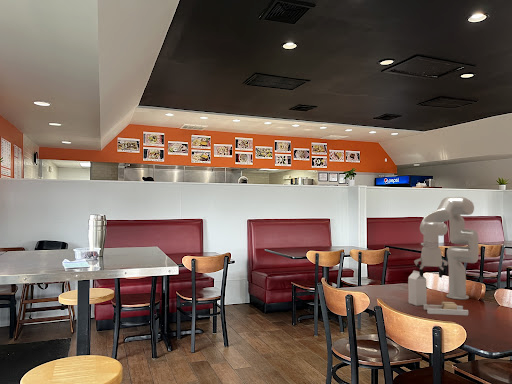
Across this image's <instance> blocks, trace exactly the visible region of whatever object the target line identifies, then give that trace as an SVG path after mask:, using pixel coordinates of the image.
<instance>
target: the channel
mask: <svg viewBox="0 0 512 384" xmlns="http://www.w3.org/2000/svg"><path fill="white" fill-rule="evenodd" d="M423 310H427V311H426V312H427V313H426V314H428V315H448V316H449V315H450V316H469V309H464V306H463V305H457V310H454V309H442V304H427V305H426V304H424V305H423Z"/></svg>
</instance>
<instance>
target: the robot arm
mask: <svg viewBox="0 0 512 384" xmlns="http://www.w3.org/2000/svg"><path fill="white" fill-rule="evenodd" d="M474 211H475V206H474V203H473V202H472V200H470V199H468V198H466V197H463V196H447V197H444V198H443V199H442V200H441V201H440V204H439V205H438V208H437V209H436V210H434V211H432V212H430V213H428V214H427V215H425V216H424V217H423V219H422V221H421V222H420V225H419V231H420V233H421V234H422V235H423V241H422V242H420V246H422V247H421V254H420V258H416V259H415V260H414V261H413V262H414V264H415V265H416V267H417V268H418V269H419V271H418V272H419V274H420V276H421V277H423V276H424V267H434V268H435V267H436V268H439V269H438V277H439V278H441V279H442V278H443V276H444V270H445V269H446V268H447V266H448V293H447V294H446V298H449V299H452V300H468V299H469V298H470V296H469V295H467V274H466V267H465V266H464V264H463V263H469V264H475V263H477V262H478V260H479V234H478V231H476V230H475V229H471V228H470V229H469V228H466V227H465V223H466V222H465V219H464V217H463V216H465V215H466V216H469V215H472V214H473V213H474ZM462 215H463V216H462ZM447 221H449V229H448V225H447V224H446V223H445V222H447ZM448 230H449V241H450V243H452V244H455V245H453V246H449V247H448V248H447V250H446V256H447V260H445V259H443V258H442V250H441V249H442V248H440V246H439V242H440V241H439V236H440V237H441V236H442V237H443V236H445V235H446V234H447V233H448ZM456 245H458V246H456ZM460 245H467V246H460ZM419 262H420V265H419Z"/></svg>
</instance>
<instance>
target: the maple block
mask: <svg viewBox="0 0 512 384" xmlns="http://www.w3.org/2000/svg"><path fill="white" fill-rule="evenodd" d="M441 305H442V309H454V310H457V306H458V305H457V304H456V303H455V302H454V301H441Z"/></svg>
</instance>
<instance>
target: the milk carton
mask: <svg viewBox="0 0 512 384" xmlns="http://www.w3.org/2000/svg"><path fill="white" fill-rule="evenodd" d="M407 280H408V281H407V283H408V284H407V285H408V287H407V288H408V304H410V305H414V306H424V304H426V305H428V303H427V298H428V296H427V294H428V293H427V278H426V277H425V276H424V275H423V277H421V276H420V274H419V271H418V270H415V269H414V270H413V271H412V273H411V274H410V275H409V276H408V279H407Z"/></svg>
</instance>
